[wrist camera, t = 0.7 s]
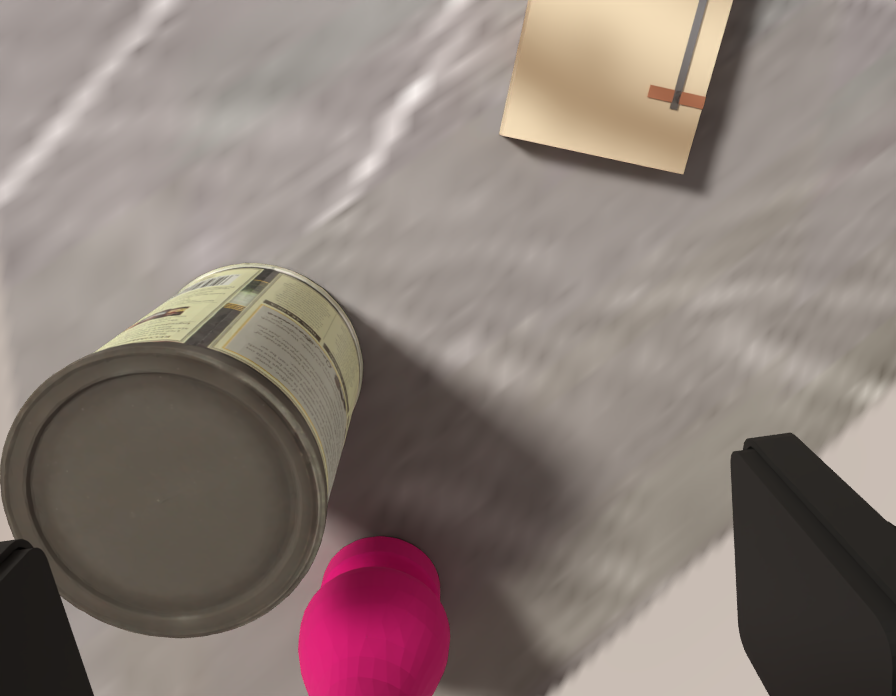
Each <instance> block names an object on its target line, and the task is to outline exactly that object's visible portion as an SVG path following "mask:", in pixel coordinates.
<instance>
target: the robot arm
mask: <svg viewBox="0 0 896 696" xmlns="http://www.w3.org/2000/svg"><path fill="white" fill-rule="evenodd" d="M731 483H732V504H733V526H734V547H735V567H736V587H737V588H736V589H737V610H738V626H739V633H740V637H741V641H742V644H743V647H744V650H745V652H746V654H747V656H748V658H749V659H750V661H751V663H752V665H753V667H754V669H755V670H756V672H757V674H758V676H759V677H760V679H761V681H762V683H763V685H764V686H765V688H766V690H767V692H768V694H769V695H770V696H896V526H894V525H893V524H891V523H890V522H887V521H886V520H885V519H884V518H883V517H882V516H881V515H880V514H879V513H878V512H877V511H875V510H874V509H873V508H872V507H871V506H870V505H869V504H868V503H867V502H866V501H865V500H864V499H863V498H861V497H860V496H859V495H858V494H857V493H856V492H855V491H854V490H853V489H852V488H851V487H850V486H849V485H848V484H847V483H846V482H844V481H843V480H842V479H841V478H840V477H839V476H838V475H837V474H836V473H835V472H834V471H833V470H832V469H831V468H829V467H828V466H827V465H826V464H825V463H824V462H823V461H822V460H821V459H820V458H819V457H818V456H817V455H816V454H815V453H813V452H812V451H811V450H810V449H809V448H808V447H807V446H806V445H805V444H804V443H803V442H802V441H801V440H800V439H799V438H797V437H796V436H795V435H794V434H792V433H785V434H777V435H770V436H763V437H756V438H749V439H746V441H745V442H744V446H743V450H741V451H734V452H733V453H732V455H731ZM0 696H94V694H93V691H92V688H91V685H90V682H89V680H88V677H87V674H86V671H85V668H84V665H83V662H82V659H81V656H80V653H79V650H78V647H77V644H76V641H75V638H74V636H73V633H72V630H71V627H70V624H69V621H68V618H67V615H66V612H65V609H64V606H63V603H62V600H61V597H60V594H59V592H58V589H57V586H56V583H55V580H54V577H53V574H52V571H51V568H50V565H49V562H48V559H47V557H46V555H45V553H44V552H43V551H42V550H41V549H40V548H37V547H36V548H34V547H33V546H32V545H31V544H30V543H29V542H28V541H27V540H24V539H17V540H10V541H3V542H0Z"/></svg>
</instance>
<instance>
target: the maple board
mask: <svg viewBox="0 0 896 696" xmlns="http://www.w3.org/2000/svg"><path fill="white" fill-rule="evenodd" d="M732 2H733V0H528V4H527V9H526V14H525V18H524V23H523V27H522V32H521V37H520V41H519V46H518V50H517V55H516V60H515V64H514V69H513V73H512V78H511V82H510V87H509V92H508V96H507V101H506V105H505V110H504V115H503V119H502V124H501V128H500V133H499V134H500V135H502V136H507V137H512V138H516V139H521V140H526V141H530V142H535V143H539V144H544V145H549V146H553V147H558V148H563V149H567V150H572V151H577V152H581V153H586V154H591V155H595V156H600V157H605V158H609V159H614V160H619V161H623V162H628V163H632V164H637V165H642V166H646V167H651V168H656V169H660V170H665V171H670V172H674V173H679V174H683V173H684V170H685V166H686V163H687V159H688V156H689V152H690V149H691V145H692V142H693V138H694V135H695V131H696V128H697V124H698V121H699V117H700V114H701V110H702V109H703V106H704V103H705V99H706V97H705V96H706V93H707V89H708V86H709V82H710V79H711V75H712V72H713V68H714V65H715V61H716V58H717V54H718V51H719V47H720V44H721V40H722V37H723V33H724V30H725V26H726V23H727V19H728V16H729V12H730V9H731V5H732Z"/></svg>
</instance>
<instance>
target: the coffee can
mask: <svg viewBox="0 0 896 696" xmlns="http://www.w3.org/2000/svg"><path fill="white" fill-rule="evenodd" d="M362 376H363V360H362V353H361V349H360V345H359V341H358V338H357V335H356V333H355V330H354V328H353V326H352V324H351V321H350V320H349V318H348V317H347V315H346V314H345V313H344V311H343V310H342V308H341V307H340V306H339V304H338V303H337V302H336V301H335V300H334V299H333V298H332V297H331V296H330V295H329V294H328V293H327V292H326V291H325V290H324V289H323V288H322V287H320V286H318V285H317V284H315V283H314V282H312V281H311V280H309V279H308V278H306V277H304V276H302V275H300V274H298V273H296V272H293V271H291V270H288V269H285V268H281V267H278V266H273V265H268V264H259V263H243V264H235V265H230V266H225V267H222V268H219V269H215V270H213V271H210V272H208V273H206V274H204V275H202V276H200V277H198V278H197V279H195V280H194V281H192V282H191V283H189V284H188V285H187V286H185V287H184V288H183V289H182V290H181V291H180V292H179V293H178V294H177V295H175V296H174V297H172V298H171V299H169V300H168V301H166V302H165V303H163V304H162V305H161V306H159V307H158V308H157V309H155V310H154V311H152V312H151V313H149V314H148V315H147V316H145V317H144V318H142V319H141V320H139V321H138V322H137V323H135V324H134V325H132V326H131V327H130V328H128V329H126V330H125V331H124V332H122V333H121V334H120V335H118V336H117V337H115V338H114V339H113V340H111V341H110V342H108V343H107V344H106V345H104V346H103V347H101V348H100V349H99V350H97V351H96V352H94V353H92V354H90V355H87V356H85V357H83V358H81V359H79V360H77V361H75V362H73V363H71V364H69V365H68V366H66V367H65V368H63V369H62V370H60V371H58V372H57V373H55V374H54V375H52V376H51V377H50V378H48V379H47V380H46V381H45V382H44V383H43V384H41V385H40V386H39V387H38V388H37V389H36V390H35V391H34V392H33V394H32V395H31V396H30V397H29V398H28V400H27V401H26V402H25V404H24V405H23V407H22V408H21V409H20V411H19V413H18V415H17V416H16V418H15V420H14V422H13V424H12V426H11V428H10V430H9V433H8V435H7V438H6V441H5V445H4V448H3V452H2V458H1V465H0V484H1V496H2V502H3V506H4V511H5V514H6V517H7V520H8V524H9V526H10V529H11V531H12V534H13V537H14V538H15V540H17V539H24V540H27V541H28V542H29V543H30V544H31V545H32V546H33V547H34V548H36V547H37V548H40V549H41V550H42V551H43V552H44V553H45V555H46V557H47V559H48V562H49V565H50V568H51V571H52V574H53V577H54V580H55V583H56V586H57V589H58V592H59V594H60V596H61V597H63V598H64V599H65V600H67V601H68V602H69V603H71V604H72V605H73V606H75V607H76V608H78V609H79V610H82V611H84V612H86V613H87V614H89V615H90V616H92V617H94V618H95V619H98V620H100V621H102V622H104V623H107V624H109V625H112V626H115V627H117V628H120V629H123V630H126V631H130V632H134V633H138V634H143V635H149V636H158V637H168V638H191V637H201V636H208V635H212V634H218V633H222V632H225V631H229V630H232V629H235V628H238V627H240V626H243V625H245V624H247V623H250V622H252V621H254V620H256V619H257V618H259V617H261V616H263V615H264V614H266V613H268V612H269V611H270V610H272V609H273V608H274V607H276V606H277V605H278V604H279V603H281V602H282V601H283V600H284V599H285V598H286V597H288V596H289V595H290V594H291V593H292V591H293V590H294V589H295V588H296V587H297V586H298V584H299V583H300V582H301V580H302V579H303V578H304V576H305V575H306V573H307V572H308V570H309V569H310V567H311V565H312V563H313V561H314V559H315V557H316V554H317V552H318V549H319V547H320V544H321V541H322V537H323V533H324V529H325V523H326V516H327V504H328V500H329V497H330V493H331V489H332V486H333V482H334V479H335V475H336V471H337V468H338V464H339V460H340V457H341V453H342V450H343V447H344V443H345V439H346V435H347V431H348V427H349V424H350V420H351V416H352V412H353V410H354V407H355V405H356V403H357V400H358V397H359V394H360V390H361V384H362Z"/></svg>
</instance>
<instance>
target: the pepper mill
mask: <svg viewBox="0 0 896 696" xmlns="http://www.w3.org/2000/svg"><path fill="white" fill-rule="evenodd" d="M449 644H450V628H449V623H448V618H447V615H446V613H445V610H444V607H443V606H442V604H441V602H440V581H439V576H438V574H437V571H436V569H435V567H434V565H433V563H432V562H431V560H430V559H429V558H428V557H427V556H426V555H425V554H424V553H423V552H422V551H421V550H420V549H418V548H417V547H415V546H414V545H412V544H410V543H408V542H405V541H403V540H401V539H397V538H392V537H384V536H376V537H368V538H363V539H360V540H357V541H355V542H353V543H351V544H349V545H347V546H345V547H344V548H343V549H341V550H340V551H339V552H338V553H337V554H336V555H335V556H334V557H333V558H332V559H331V561H330V563H329V565H328V566H327V569H326V571H325V573H324V577H323V581H322V585H321V589H320V590H319V591H318V592H317V593H316V594H315V595H314V596H313V598H312V599H311V601H310V602H309V604H308V606H307V608H306V610H305V612H304V616H303V619H302V622H301V627H300V635H299V646H298V652H299V660H300V667H301V674H302V677H303V681H304V684H305V686H306V689H307V692H308V695H309V696H432V695H433V693H434V692H435V690H436V688H437V686H438V684H439V681H440V679H441V677H442V675H443V673H444V670H445V667H446V664H447V660H448V652H449Z"/></svg>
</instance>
